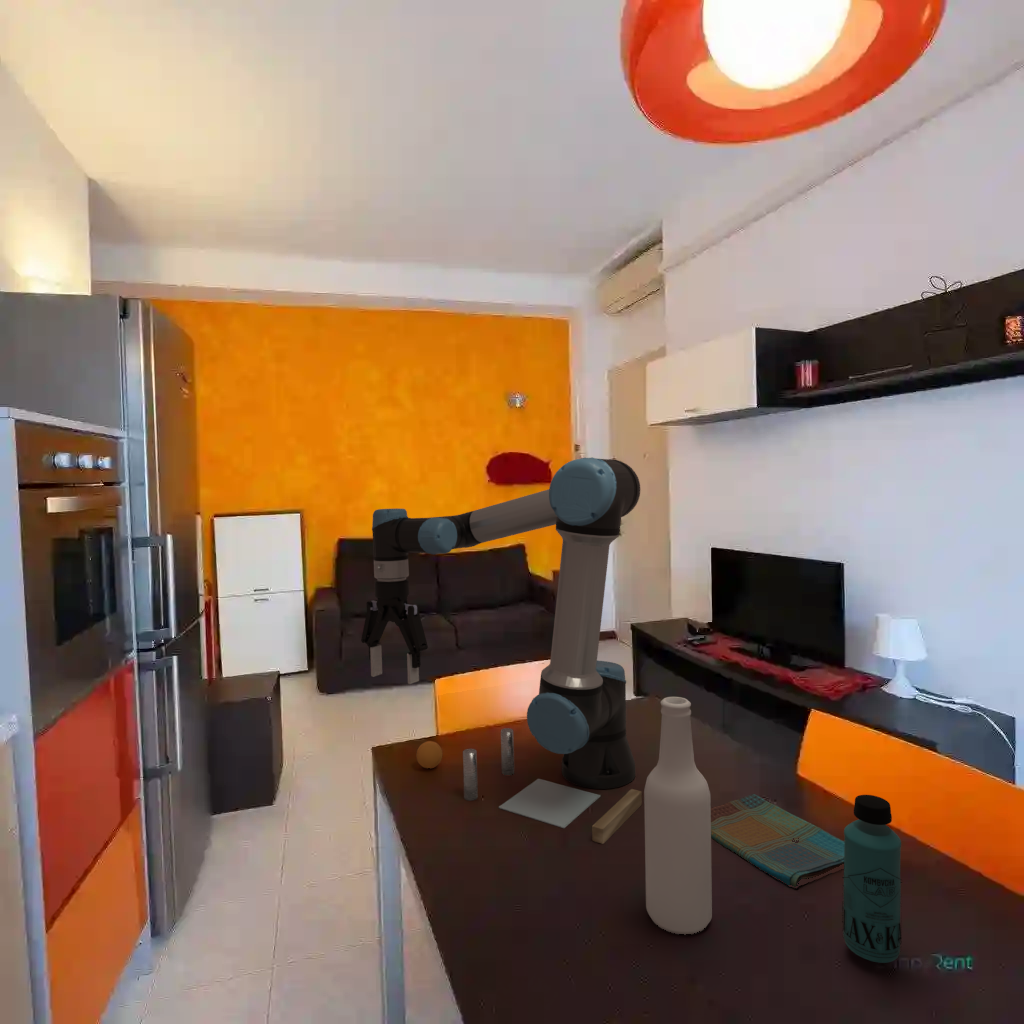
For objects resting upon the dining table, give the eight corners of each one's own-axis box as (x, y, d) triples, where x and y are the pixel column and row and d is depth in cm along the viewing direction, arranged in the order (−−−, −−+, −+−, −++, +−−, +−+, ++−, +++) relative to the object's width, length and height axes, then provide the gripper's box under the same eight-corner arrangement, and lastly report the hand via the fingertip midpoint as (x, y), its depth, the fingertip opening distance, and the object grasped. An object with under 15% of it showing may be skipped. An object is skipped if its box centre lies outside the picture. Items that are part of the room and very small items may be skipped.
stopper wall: (641, 804, 123) (641, 791, 123) (603, 844, 110) (602, 829, 110) (631, 801, 124) (631, 788, 124) (592, 840, 111) (592, 826, 111)
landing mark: (600, 796, 127) (600, 795, 127) (564, 828, 115) (564, 827, 115) (538, 779, 135) (538, 778, 135) (498, 808, 123) (498, 807, 123)
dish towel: (794, 897, 96) (794, 879, 96) (683, 825, 117) (682, 811, 117) (870, 863, 104) (870, 847, 104) (753, 802, 125) (753, 788, 125)
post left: (480, 796, 128) (479, 750, 128) (472, 801, 126) (470, 755, 126) (469, 793, 130) (468, 747, 129) (461, 798, 127) (460, 752, 127)
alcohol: (725, 920, 90) (723, 702, 89) (681, 946, 85) (678, 716, 84) (676, 888, 97) (673, 686, 96) (632, 911, 93) (629, 699, 91)
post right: (516, 772, 138) (515, 729, 138) (509, 776, 136) (508, 733, 136) (506, 769, 140) (505, 727, 140) (499, 774, 138) (498, 731, 137)
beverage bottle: (831, 941, 86) (830, 789, 85) (880, 937, 86) (880, 786, 85) (862, 979, 79) (862, 814, 78) (915, 974, 80) (915, 810, 79)
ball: (448, 765, 143) (447, 740, 142) (431, 775, 138) (430, 749, 138) (428, 760, 146) (427, 735, 146) (411, 769, 141) (410, 743, 141)
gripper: (342, 578, 149) (345, 675, 150) (419, 584, 136) (422, 691, 137) (367, 573, 155) (370, 667, 156) (442, 579, 142) (445, 681, 143)
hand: (394, 678), depth 147 cm, fingers open, 10 cm apart
